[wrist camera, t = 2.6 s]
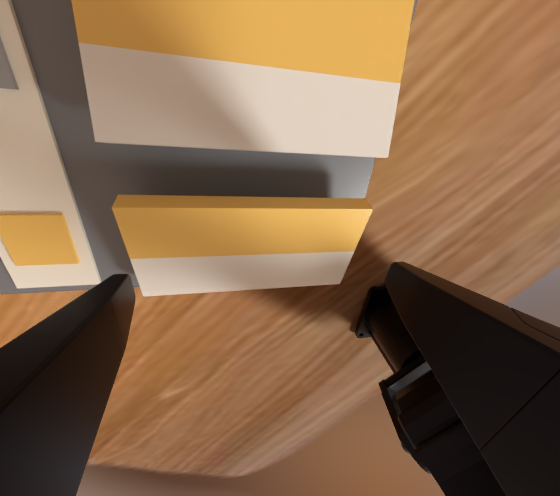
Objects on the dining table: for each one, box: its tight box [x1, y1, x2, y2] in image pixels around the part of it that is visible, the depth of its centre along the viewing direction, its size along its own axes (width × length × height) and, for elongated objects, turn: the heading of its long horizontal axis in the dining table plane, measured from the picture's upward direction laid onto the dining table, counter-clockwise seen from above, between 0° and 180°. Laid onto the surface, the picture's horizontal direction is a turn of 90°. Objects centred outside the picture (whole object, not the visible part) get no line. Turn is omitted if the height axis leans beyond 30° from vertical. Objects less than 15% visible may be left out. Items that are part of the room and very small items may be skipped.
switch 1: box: [71, 0, 415, 158], centre depth 10 cm, size 6×12×1 cm, turn 83°
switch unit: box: [0, 0, 418, 294], centre depth 14 cm, size 15×20×4 cm
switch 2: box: [112, 195, 373, 296], centre depth 14 cm, size 6×12×1 cm, turn 86°
